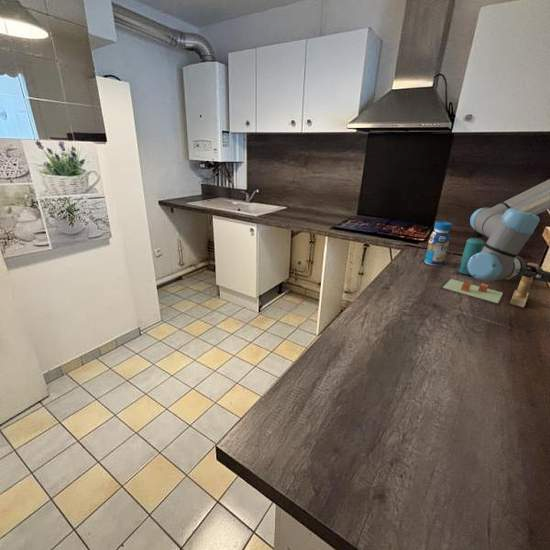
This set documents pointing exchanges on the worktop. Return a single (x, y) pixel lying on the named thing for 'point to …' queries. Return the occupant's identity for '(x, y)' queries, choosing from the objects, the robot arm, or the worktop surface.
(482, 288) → the crumb
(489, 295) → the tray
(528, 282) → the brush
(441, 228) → the beverage bottle
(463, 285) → the crumb
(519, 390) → the worktop surface
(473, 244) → the beverage bottle
